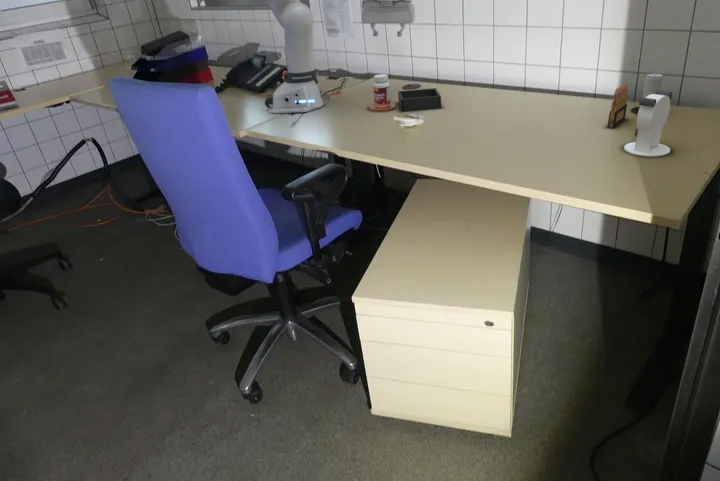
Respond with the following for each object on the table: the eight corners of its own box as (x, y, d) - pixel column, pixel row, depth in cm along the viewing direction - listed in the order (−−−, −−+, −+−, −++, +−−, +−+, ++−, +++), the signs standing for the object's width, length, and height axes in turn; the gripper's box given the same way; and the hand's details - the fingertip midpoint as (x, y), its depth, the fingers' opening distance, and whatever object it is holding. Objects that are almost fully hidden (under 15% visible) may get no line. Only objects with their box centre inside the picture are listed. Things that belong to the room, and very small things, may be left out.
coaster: (370, 112, 205) (369, 110, 205) (368, 105, 214) (368, 103, 213) (396, 110, 205) (396, 108, 204) (394, 103, 214) (394, 101, 213)
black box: (401, 111, 203) (401, 99, 201) (398, 102, 214) (398, 91, 212) (441, 108, 203) (440, 96, 200) (435, 99, 214) (435, 88, 212)
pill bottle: (372, 107, 208) (370, 77, 202) (377, 103, 213) (375, 73, 207) (387, 108, 205) (386, 77, 200) (392, 103, 210) (391, 73, 205)
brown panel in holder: (618, 118, 176) (624, 80, 170) (624, 119, 175) (630, 81, 169) (607, 127, 169) (612, 88, 163) (613, 128, 168) (619, 89, 162)
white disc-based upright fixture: (636, 139, 158) (645, 87, 151) (678, 147, 150) (689, 92, 143) (616, 150, 152) (624, 96, 144) (658, 159, 144) (669, 102, 137)
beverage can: (641, 114, 177) (648, 77, 172) (638, 110, 181) (645, 73, 176) (658, 114, 176) (665, 76, 170) (654, 110, 180) (661, 73, 175)
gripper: (359, -4, 203) (358, 36, 208) (413, -5, 197) (411, 36, 202) (364, -3, 209) (364, 36, 214) (416, -4, 203) (415, 36, 208)
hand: (387, 36), depth 208 cm, fingers open, 8 cm apart
